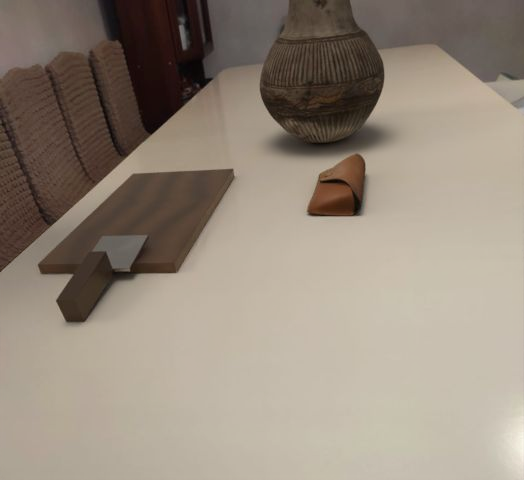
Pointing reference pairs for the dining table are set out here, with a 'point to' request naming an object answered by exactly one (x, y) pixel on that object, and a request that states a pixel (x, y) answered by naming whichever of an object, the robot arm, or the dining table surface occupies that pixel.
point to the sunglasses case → (340, 188)
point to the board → (147, 219)
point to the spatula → (98, 273)
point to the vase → (321, 72)
